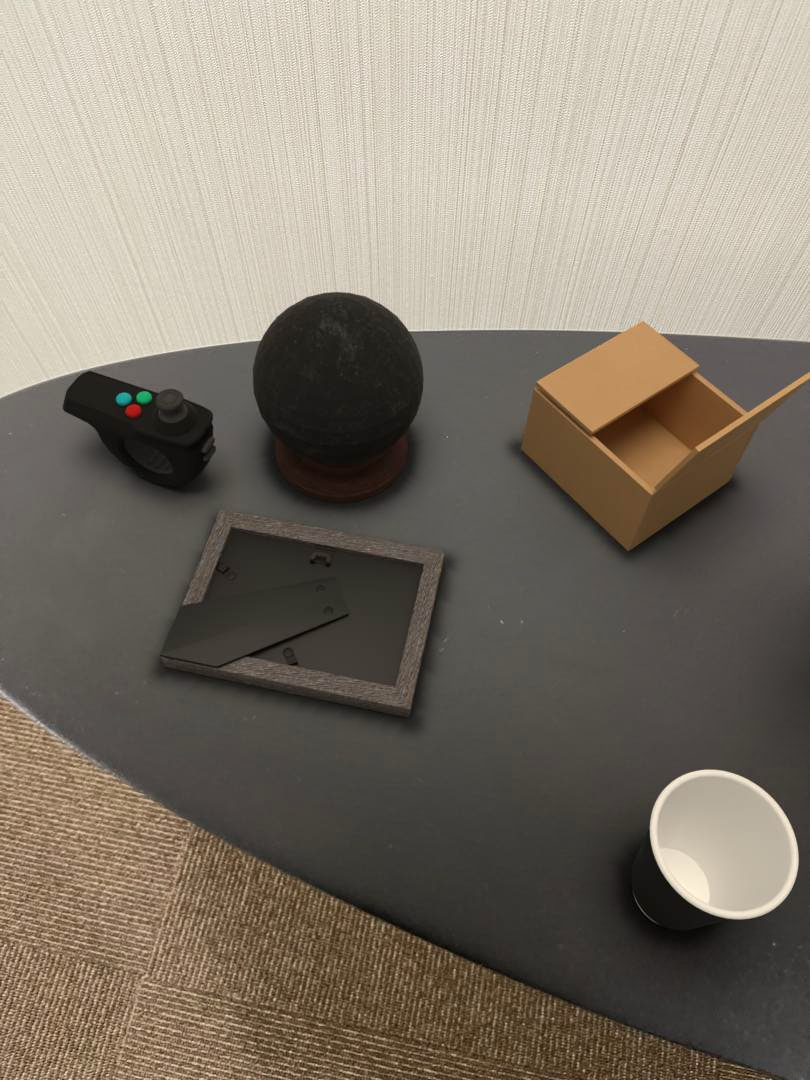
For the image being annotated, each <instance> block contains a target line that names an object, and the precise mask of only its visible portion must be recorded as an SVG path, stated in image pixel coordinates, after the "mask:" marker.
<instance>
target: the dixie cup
mask: <svg viewBox="0 0 810 1080" xmlns="http://www.w3.org/2000/svg"><path fill="white" fill-rule="evenodd" d="M798 846H799V845H798V842H797V838H796V834H795V832H794V829H793V826H792V824H791V822H790V821H789V818H788V817H787V815H786V813H785V812H784V810H783V809H782V807H781V806H780V805H779V804H778V803H777V801H776V800H775V799H774V798H773V797H772V796H771V795H770V794H769V793H768V792H767V791H766V790H764V789H763V788H762V787H761V786H759V785H758V784H757V783H755V782H753V781H752V780H750V779H748V778H746V777H744V776H741V775H739V774H737V773H734V772H730V771H726V770H721V769H701V770H700V769H699V770H694V771H691V772H687V773H685V774H682V775H680V776H679V777H677V778H675V779H673V780H672V781H670V783H669V784H667V786H665V787H664V789H663V790H662V791H661V792H660V794H659V795H658V797H657V798H656V801H655V802H654V805H653V808H652V811H651V814H650V819H649V828H648V830H647V832H646V835H645V837H644V838H643V841H642V844H641V845H640V848H639V850H638V853H637V854H636V856H635V859H634V861H633V863H632V867H631V871H630V885H631V889H632V894H633V897H634V900H635V903H636V904H637V906H638V908H639V909H640V911H641V912H642V913H643V914H644V915H645V916H646V917H647V918H648V919H649V920H650V921H652V922H653V923H655V924H656V925H659V926H661V927H663V928H665V929H669V930H673V931H678V932H679V931H680V932H681V931H682V932H683V931H690V930H695V929H698V928H702V927H706V926H709V925H713V924H716V923H720V922H724V921H729V920H749V919H754V918H758V917H762V916H763V915H766V914H768V913H770V912H772V911H773V910H775V909H776V908H777V907H779V906H780V905H781V904H782V903H783V902H784V901H785V900H786V898H787V897H788V896H789V895H790V892H791V891H792V889H793V887H794V884H795V882H796V879H797V876H798V871H799V863H800V860H799V859H800V856H799V855H800V854H799V847H798Z"/></svg>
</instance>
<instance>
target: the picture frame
mask: <svg viewBox="0 0 810 1080" xmlns="http://www.w3.org/2000/svg"><path fill="white" fill-rule="evenodd" d="M445 554H446V551H443V550H438V549H434V548H428V547H423V546H418V545H413V544H408V543H407V544H406V543H401V542H395V541H391V540H386V539H381V538H377V537H376V538H375V537H370V536H364V535H360V534H355V533H349V532H344V531H339V530H333V529H328V528H322V527H317V526H313V525H312V526H311V525H307V524H302V523H296V522H292V521H286V520H281V519H275V518H270V517H266V516H260V515H254V514H249V513H246V512H245V513H244V512H239V511H233V510H229V509H222V508H220V509H219V512H218V514H217V517H216V520H215V521H214V525H213V527H212V529H211V531H210V534H209V537H208V539H207V541H206V543H205V546H204V550H203V552H202V554H201V556H200V559H199V562H198V564H197V567H196V569H195V572H194V574H193V577H192V579H191V582H190V584H189V587H188V589H187V592H186V594H185V597H184V598H183V601H182V604H181V605H180V606H179V608H178V611H177V613H176V615H175V618H174V620H173V623H172V624H171V628H170V630H169V632H168V635H167V637H166V639H165V642H164V644H163V646H162V649H161V651H160V653H159V656H160V659H161V662H162V663H163V666H164V668H167V669H172V670H175V671H176V670H177V671H182V672H186V673H190V674H191V673H192V674H195V675H201V676H205V677H210V678H215V679H219V680H225V681H228V682H229V681H230V682H234V683H239V684H243V685H248V686H253V687H258V688H262V689H268V690H272V691H277V692H282V693H286V694H292V695H297V696H302V697H306V698H310V699H315V700H320V701H325V702H330V703H334V704H340V705H344V706H348V707H353V708H359V709H363V710H369V711H373V712H378V713H382V714H388V715H393V716H398V717H402V718H406V719H410V717H411V712H412V708H413V704H414V698H415V694H416V689H417V685H418V682H419V681H418V680H419V675H420V673H421V667H422V662H423V658H424V655H425V654H424V653H425V649H426V644H427V640H428V635H429V630H430V627H431V621H432V618H433V613H434V609H435V604H436V600H437V595H438V590H439V586H440V582H441V576H442V571H443V568H444V564H445V563H444V562H445V556H446V555H445Z"/></svg>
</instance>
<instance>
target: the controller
mask: <svg viewBox="0 0 810 1080" xmlns="http://www.w3.org/2000/svg"><path fill="white" fill-rule="evenodd" d="M62 410H63V412H64V413H67V414H68V415H71V416H73V417H75V418H77V419H78V420H80V421H83V422H85V423H87V424H88V425H90V426H91V427H92V428H93V429H94V430H95V432H96V433H97V435H98V437H99V439H100V440H101V442H102V444H103V445H104V446H105V447H106V449H107V450H108V451H109V452H110V454H112V455H113V456H114V458H116V459H117V460H118V461H119V462H121V463H122V464H123V465H124V466H125V467H127V468H128V469H129V470H131V471H133V472H134V473H136V474H138V475H140V476H141V477H142V478H144V479H146V480H148V481H151V482H154V483H157V484H159V485H164V486H171V487H172V486H174V487H179V486H185V485H188V484H190V483H192V482H194V481H196V479H198V478H199V477H200V476H201V474H202V473H203V472H204V470H205V468H207V466H208V465H209V463H210V460H211V459H212V457H213V456H214V454H215V452H216V450H217V446H216V445H214V444H215V441H216V438H215V437H214V424H213V420H214V414H213V412H212V410H211V409H209V408H207V407H205V406H203V405H201V404H199V403H196V402H193V401H191V400H189V399H185V396H184V394H183V392H181V390H179V389H176V388H166V389H164V390H163V389H162V390H161V391H160V392H156V391H153V390H150V389H147V388H144V387H142V386H139V385H135V384H133V383H128V382H126V381H123V380H120V379H118V378H114V377H110V376H107V375H104V374H102V373H98V372H95V371H92V370H88V371H84V372H83V373H81V374H80V375H78V376H77V378H76V379H75V380H74V381H73V382H72V383H71V384H70V385H69V386H68V388H67V389H66V391H65V394H64V398H63V404H62Z"/></svg>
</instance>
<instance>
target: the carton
mask: <svg viewBox="0 0 810 1080" xmlns="http://www.w3.org/2000/svg"><path fill="white" fill-rule="evenodd" d="M699 368H700V364H698V363H697V362H696V361H694V360H693V359H692V358H691V357H690V356H688V355H687V354H686V353H684V352H683V350H681V349H679V347H677V346H676V345H674V344H673V343H672V342H671V341H670V340H669V339H667V338H666V337H664V336H663V335H662V334H660V332H658V331H657V330H656V329H654V328H653V327H652V326H650V325H649V323H647V322H645V321H644V320H642V321H640V322H638V323H636V324H635V325H633V326H631V327H629V328H628V329H627V330H624V331H622V332H621V333H619V334H617V335H615V336H614V337H612V338H610V339H609V340H606V341H605V342H603V343H601V344H600V345H598V346H596V347H595V348H593V349H591V350H589V351H588V352H585V353H583V354H582V355H580V356H579V357H577V358H575V359H574V360H572V361H570V362H568V363H566V364H564V365H562V366H561V367H560V368H558V369H556V370H554V371H553V372H550V373H549V374H547V375H546V376H544V377H541V378H540V379H539V380H537V381H536V382H535V387H533V389H532V394H531V401H530V404H529V408H528V414H527V419H526V423H525V426H524V427H525V428H524V432H523V437H522V441H521V446H520V450H521V451H522V452H523V453H524V454H526V456H527V457H528V458H530V460H531V461H532V462H534V464H535V465H537V466H538V467H539V469H541V470H542V471H543V472H544V473H545V474H546V475H547V476H548V477H549V478H551V479H552V481H554V483H556V484H557V486H559V487H560V488H561V489H562V490H563V491H564V492H565V493H566V494H567V495H568V496H569V497H571V499H573V501H575V503H576V504H577V505H579V506H580V508H582V510H584V511H585V512H586V513H588V515H589V516H590V517H591V518H592V519H594V521H595V522H596V523H598V524H599V526H601V527H602V528H603V529H604V530H605V531H606V532H607V533H608V534H609V535H610V536H611V537H612V538H613V539H614V540H616V542H617V543H619V544H620V545H621V546H622V547H623V548H624V549H625V550H626V551H627V552H629V551H631V550H633V549H634V548H636V547H637V546H639V544H642V543H643V542H644V541H646V540H647V539H648V538H650V537H652V535H654V534H656V533H657V532H659V531H660V530H661V529H663V528H664V527H666V526H667V525H668V524H670V523H671V522H673V521H674V520H676V519H677V518H679V517H680V516H682V515H683V514H684V513H686V512H687V511H688V510H690V509H692V508H693V507H695V506H696V505H697V504H699V503H700V502H701V501H703V500H704V499H706V498H707V497H709V496H710V495H711V494H713V493H714V492H716V491H717V490H719V489H720V488H721V487H723V486H724V485H726V484H728V483H729V482H730V480H731V478H732V476H733V475H734V473H735V471H736V469H737V468H738V466H739V464H740V461H741V459H742V458H743V456H744V454H745V452H746V450H747V448H748V446H749V444H750V443H751V441H752V439H753V437H754V435H755V433H756V431H757V429H758V427H759V426H760V424H761V422H760V423H759V424H757V425H756V426H754V427H753V428H751V429H750V430H748V431H747V432H745V433H744V434H742V435H741V436H739V437H738V438H736V439H735V440H733V441H732V442H730V443H729V444H727V445H726V446H724V447H723V448H721V449H720V450H718V451H717V452H715V453H714V454H712V455H711V456H710V457H708V458H707V459H705V460H704V461H702V462H701V463H699V464H698V465H696V466H695V467H693V468H692V469H690V470H689V471H687V472H686V473H684V474H683V475H681V476H680V477H678V478H677V479H675V480H674V481H672V482H671V483H669V484H668V485H666V486H665V487H663V488H662V489H660V490H659V491H656V490H655V488H654V487H655V486H656V485H657V484H658V483H659V482H660V481H661V480H662V479H663V478H664V477H665V476H666V475H667V474H668V473H669V472H670V471H671V470H672V469H673V468H675V467H676V466H677V465H678V464H679V463H680V462H681V461H682V460H683V459H684V458H685V457H686V456H687V455H688V454H689V453H690V452H691V451H692V450H693V449H694V448H695V447H697V446H698V445H700V444H701V443H703V442H704V441H706V440H707V439H709V438H710V437H712V436H713V435H715V434H716V433H718V432H719V431H721V430H722V429H724V428H725V427H727V426H729V425H730V424H732V423H733V422H735V421H736V420H738V419H739V418H741V417H742V416H744V415H745V414H747V413H748V412H747V411H746V410H745V409H743V407H741V406H740V405H738V403H736V402H735V401H734V400H732V399H731V398H730V397H729V396H728V395H726V394H725V393H724V392H722V391H721V390H720V389H718V388H717V387H716V386H715V385H713V384H712V383H711V382H710V381H708V380H707V379H706V378H705V377H704V376H702V375H701V374H700V373H698V372H697V371H698V370H700V369H699Z"/></svg>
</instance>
